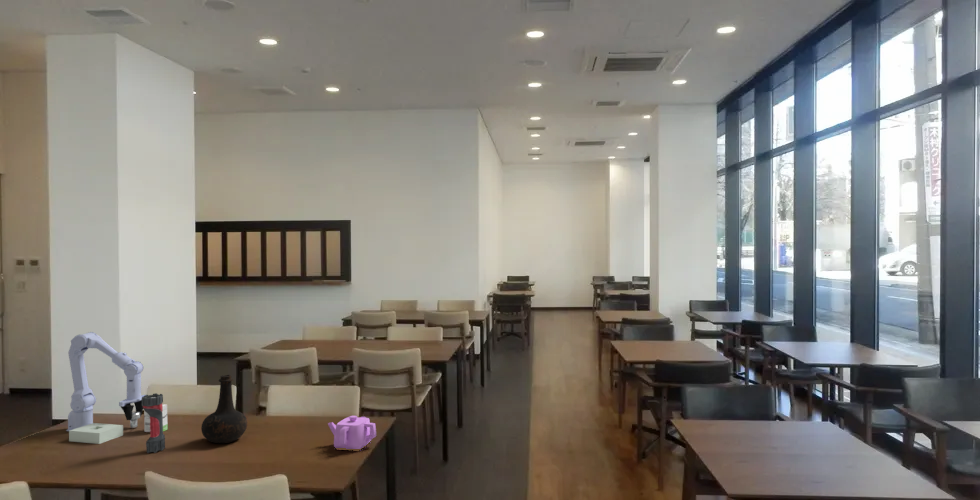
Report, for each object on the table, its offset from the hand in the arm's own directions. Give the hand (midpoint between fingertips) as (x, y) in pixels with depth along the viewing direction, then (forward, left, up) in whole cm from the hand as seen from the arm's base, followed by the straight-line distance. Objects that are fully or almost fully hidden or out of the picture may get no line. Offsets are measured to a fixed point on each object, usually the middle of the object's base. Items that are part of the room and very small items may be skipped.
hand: (133, 418), depth 275 cm
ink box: (+13, -1, -5) cm, 14 cm away
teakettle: (+110, +1, -5) cm, 110 cm away
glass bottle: (+53, -6, -5) cm, 54 cm away
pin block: (-4, -16, -5) cm, 17 cm away
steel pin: (0, 0, -4) cm, 4 cm away
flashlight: (+34, -25, -5) cm, 43 cm away
